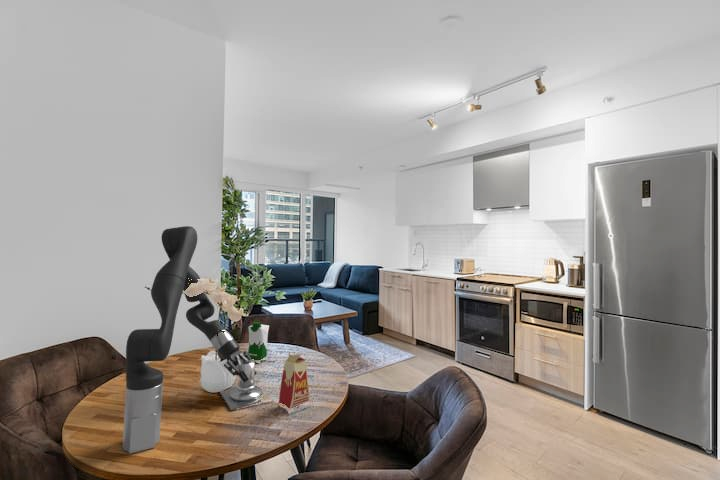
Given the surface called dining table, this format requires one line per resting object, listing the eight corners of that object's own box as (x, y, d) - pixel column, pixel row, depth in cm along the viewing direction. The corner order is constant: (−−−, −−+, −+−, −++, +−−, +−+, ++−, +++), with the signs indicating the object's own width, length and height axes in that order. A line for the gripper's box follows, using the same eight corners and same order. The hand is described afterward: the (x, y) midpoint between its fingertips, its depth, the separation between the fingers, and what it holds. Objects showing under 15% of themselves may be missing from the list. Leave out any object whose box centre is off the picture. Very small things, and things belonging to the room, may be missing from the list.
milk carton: (310, 406, 127) (313, 353, 127) (289, 414, 120) (292, 357, 121) (297, 398, 133) (299, 347, 134) (276, 405, 127) (278, 351, 127)
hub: (257, 389, 132) (258, 363, 132) (239, 393, 128) (241, 366, 128) (252, 383, 137) (253, 358, 137) (235, 386, 133) (236, 361, 134)
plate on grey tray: (273, 401, 130) (274, 396, 130) (230, 411, 121) (230, 405, 121) (258, 384, 144) (259, 380, 144) (219, 392, 135) (219, 387, 135)
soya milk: (244, 362, 171) (246, 322, 172) (255, 357, 180) (257, 319, 180) (259, 364, 169) (261, 324, 169) (269, 359, 177) (271, 321, 178)
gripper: (220, 343, 127) (248, 378, 125) (240, 333, 142) (266, 365, 139) (207, 355, 128) (234, 391, 126) (228, 345, 142) (253, 377, 140)
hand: (250, 377), depth 132 cm, fingers closed on hub, 5 cm apart
